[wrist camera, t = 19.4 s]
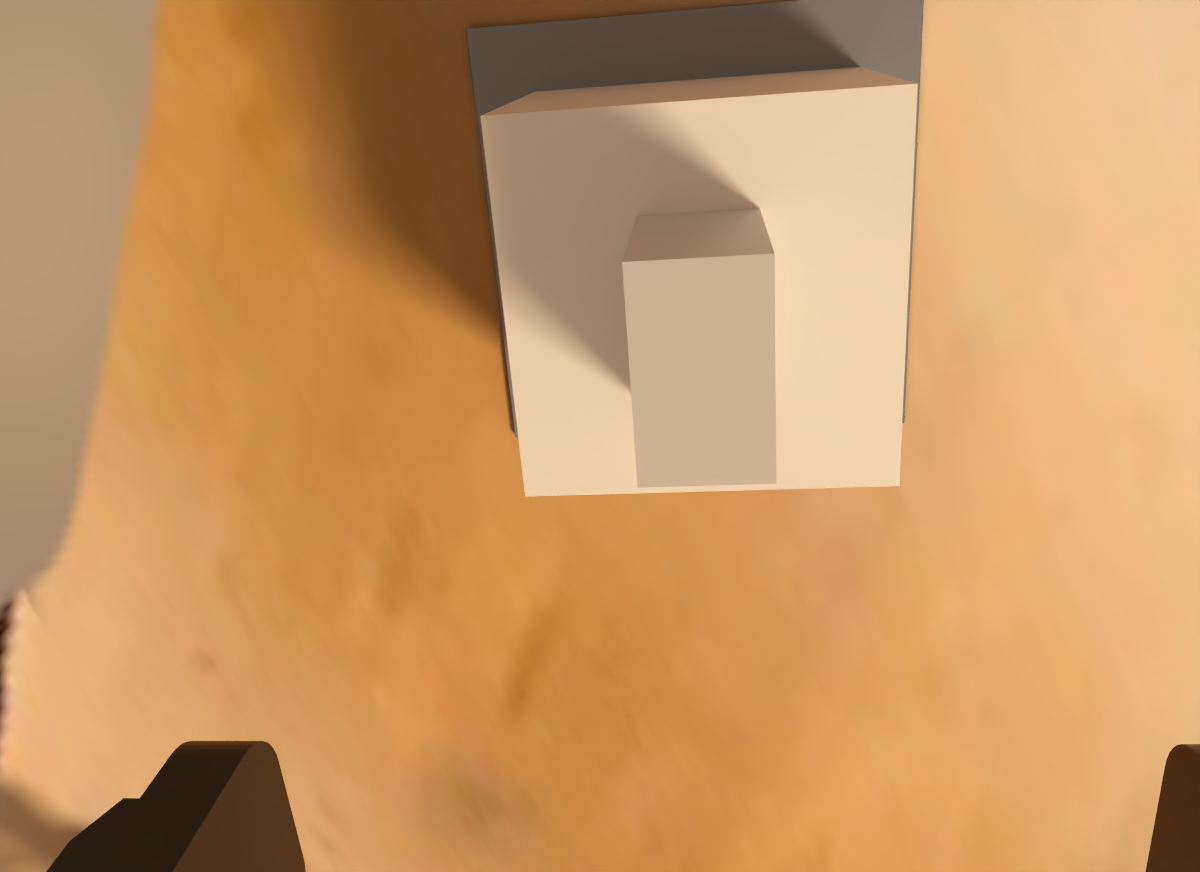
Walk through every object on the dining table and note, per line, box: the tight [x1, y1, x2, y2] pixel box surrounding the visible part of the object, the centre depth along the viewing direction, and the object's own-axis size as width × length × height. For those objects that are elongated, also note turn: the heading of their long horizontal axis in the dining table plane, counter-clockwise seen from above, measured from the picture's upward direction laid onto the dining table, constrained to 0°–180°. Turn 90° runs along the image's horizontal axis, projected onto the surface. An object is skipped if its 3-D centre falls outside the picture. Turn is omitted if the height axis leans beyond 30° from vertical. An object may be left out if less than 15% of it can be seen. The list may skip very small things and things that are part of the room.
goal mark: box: [466, 0, 924, 437], centre depth 33 cm, size 14×14×1 cm
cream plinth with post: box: [480, 67, 918, 496], centre depth 27 cm, size 10×10×14 cm
